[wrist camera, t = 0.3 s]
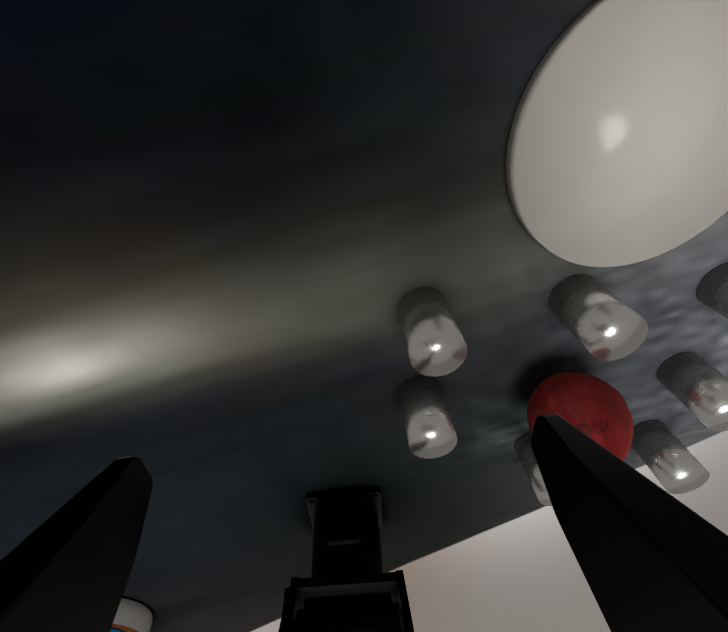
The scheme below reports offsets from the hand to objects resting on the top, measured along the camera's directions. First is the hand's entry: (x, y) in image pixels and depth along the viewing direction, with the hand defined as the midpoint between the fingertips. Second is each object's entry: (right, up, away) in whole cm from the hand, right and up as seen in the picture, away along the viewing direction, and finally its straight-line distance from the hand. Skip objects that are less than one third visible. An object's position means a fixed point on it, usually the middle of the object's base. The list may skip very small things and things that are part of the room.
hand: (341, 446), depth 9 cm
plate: (+14, +12, +10) cm, 21 cm away
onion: (+14, -2, +19) cm, 24 cm away
